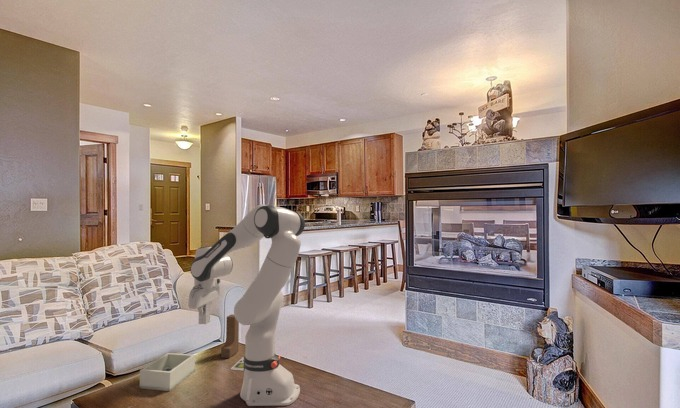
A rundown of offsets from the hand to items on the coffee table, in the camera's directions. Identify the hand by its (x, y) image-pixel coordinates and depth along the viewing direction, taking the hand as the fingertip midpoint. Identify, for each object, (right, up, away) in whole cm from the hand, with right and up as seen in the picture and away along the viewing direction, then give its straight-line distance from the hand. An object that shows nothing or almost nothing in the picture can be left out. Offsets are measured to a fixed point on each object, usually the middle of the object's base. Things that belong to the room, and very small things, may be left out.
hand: (204, 313), depth 156 cm
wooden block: (+7, -24, +14) cm, 29 cm away
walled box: (-10, -23, -12) cm, 28 cm away
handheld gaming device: (+18, -25, +4) cm, 30 cm away
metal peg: (0, -4, 0) cm, 4 cm away
